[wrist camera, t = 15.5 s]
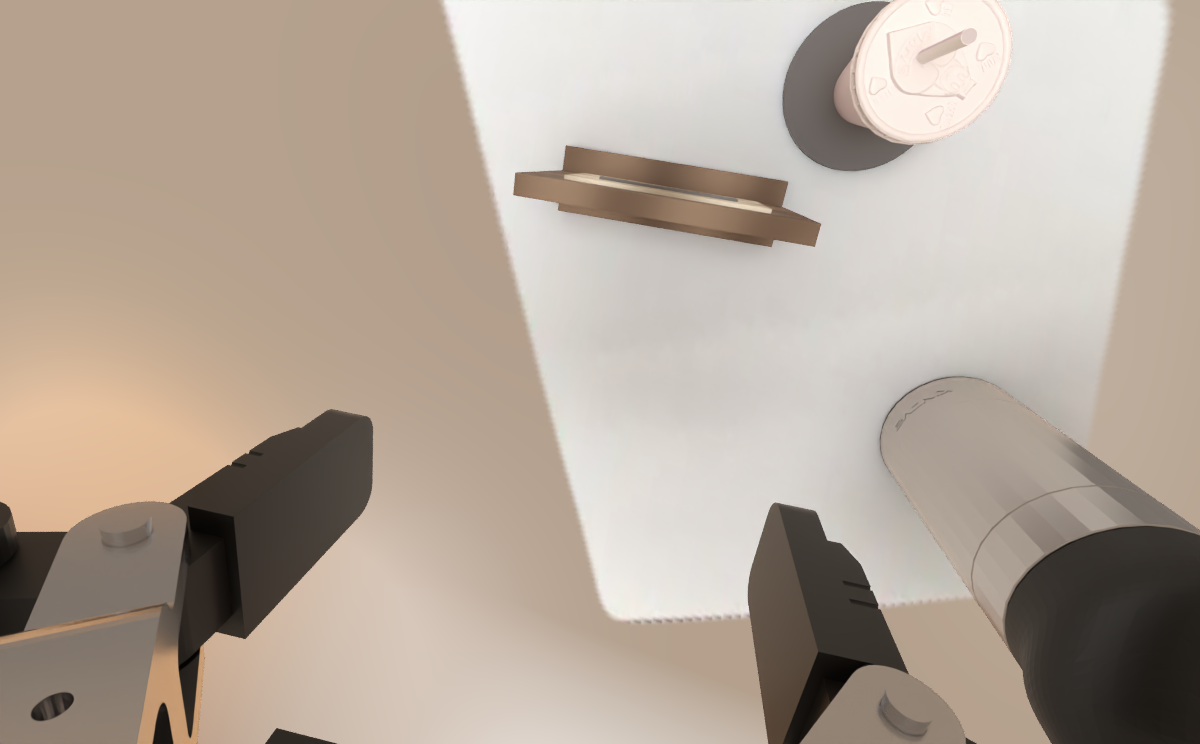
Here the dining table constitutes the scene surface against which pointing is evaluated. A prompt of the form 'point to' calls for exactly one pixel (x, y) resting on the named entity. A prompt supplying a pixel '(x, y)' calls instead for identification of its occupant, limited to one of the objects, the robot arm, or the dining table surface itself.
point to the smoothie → (926, 69)
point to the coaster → (832, 96)
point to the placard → (670, 197)
